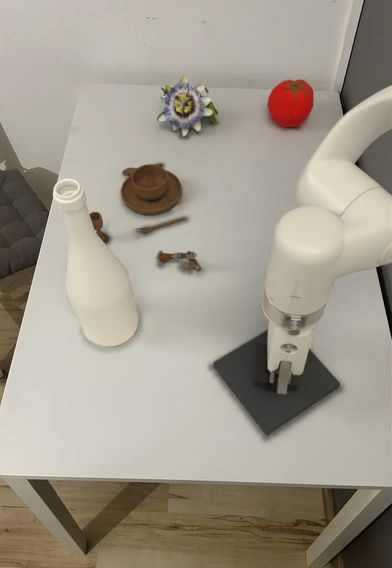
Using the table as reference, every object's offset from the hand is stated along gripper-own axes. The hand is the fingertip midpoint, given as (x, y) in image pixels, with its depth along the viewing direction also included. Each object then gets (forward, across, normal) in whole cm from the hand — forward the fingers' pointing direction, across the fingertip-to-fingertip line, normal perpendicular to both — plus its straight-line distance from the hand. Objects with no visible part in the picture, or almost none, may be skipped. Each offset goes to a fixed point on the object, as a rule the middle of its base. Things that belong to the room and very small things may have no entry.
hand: (277, 366), depth 76 cm
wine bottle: (+4, +7, +28) cm, 29 cm away
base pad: (+4, 0, 0) cm, 4 cm away
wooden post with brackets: (+4, +21, +18) cm, 28 cm away
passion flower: (+4, +61, +21) cm, 64 cm away
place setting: (+4, +36, +29) cm, 46 cm away
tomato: (+4, +63, -1) cm, 64 cm away
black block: (+1, 0, 0) cm, 1 cm away
